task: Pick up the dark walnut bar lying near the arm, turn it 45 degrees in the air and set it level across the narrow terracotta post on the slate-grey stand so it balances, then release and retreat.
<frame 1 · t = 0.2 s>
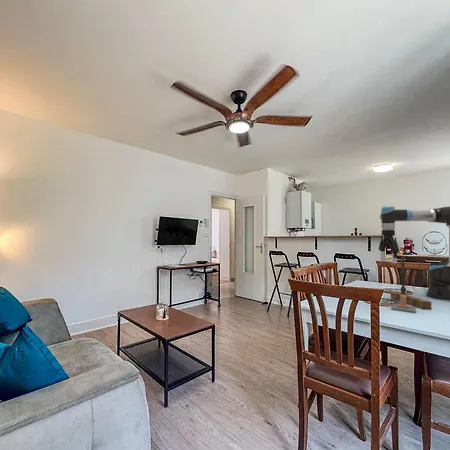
hand: (388, 262, 176), 27 cm above the table, fingers open, 13 cm apart
bar: (409, 304, 175), on the table
fulcrum: (403, 309, 163), on the table
candlestick holder: (403, 297, 193), on the table
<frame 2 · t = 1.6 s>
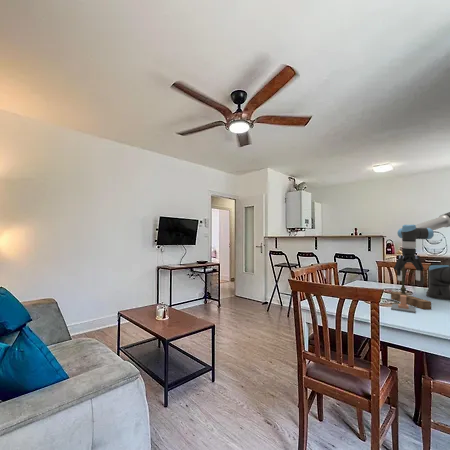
hand: (408, 280, 175), 15 cm above the table, fingers open, 13 cm apart
nothing on the table moved.
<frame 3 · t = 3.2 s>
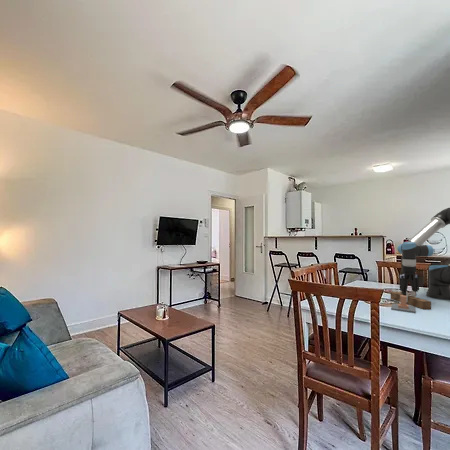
hand: (409, 301, 175), 2 cm above the table, fingers closed on bar, 5 cm apart
bar: (409, 304, 175), on the table, touching gripper
everything else where it was.
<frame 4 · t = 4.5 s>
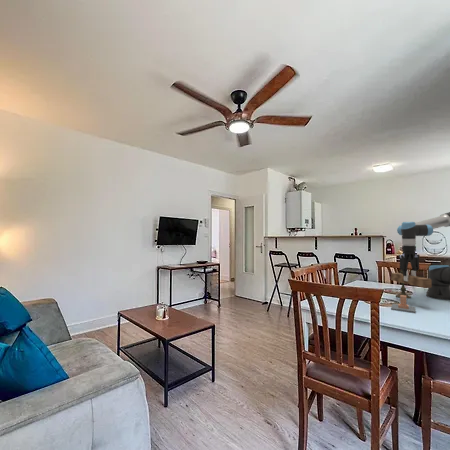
hand: (409, 280, 175), 15 cm above the table, fingers closed on bar, 5 cm apart
bar: (409, 283, 175), point 13 cm above the table, touching gripper
everything else where it was.
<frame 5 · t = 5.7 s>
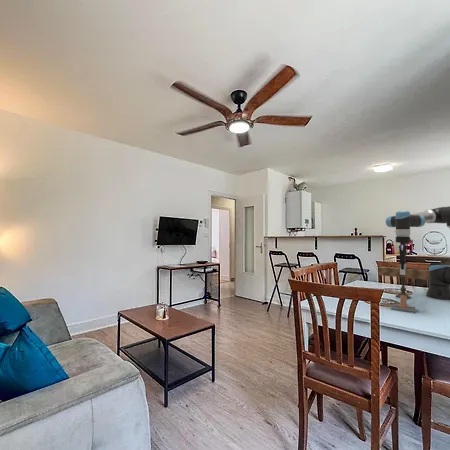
hand: (403, 274, 164), 21 cm above the table, fingers closed on bar, 5 cm apart
bar: (402, 276, 164), point 19 cm above the table, touching gripper
everything else where it was.
when the fingers open (11 cm above the table, at t = 8.0 s): bar stays where it is, resting on fulcrum.
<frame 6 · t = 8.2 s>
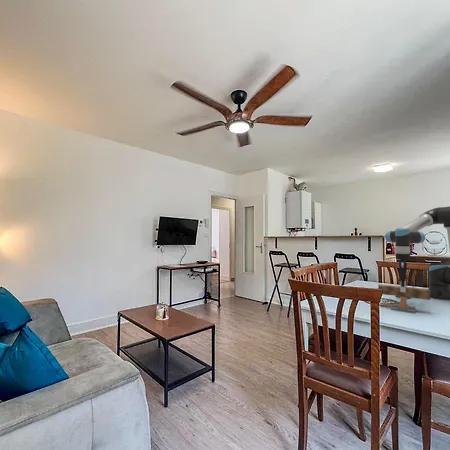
hand: (403, 290, 163), 11 cm above the table, fingers open, 7 cm apart
bar: (403, 295, 163), point 8 cm above the table, touching fulcrum
everything else where it was.
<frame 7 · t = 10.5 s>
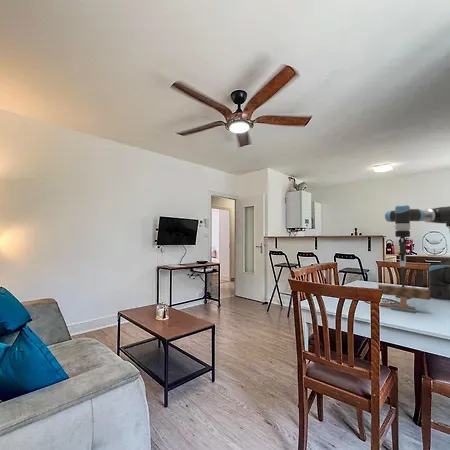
hand: (403, 265, 164), 27 cm above the table, fingers open, 13 cm apart
nothing on the table moved.
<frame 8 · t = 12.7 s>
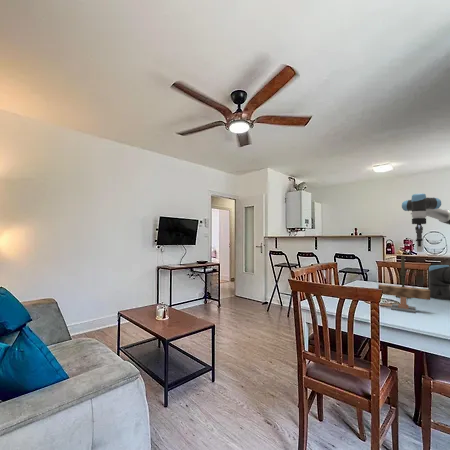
hand: (419, 251, 171), 35 cm above the table, fingers open, 13 cm apart
nothing on the table moved.
at the end: bar 0.0 cm off-centre on the fulcrum, point 8.0 cm above the fulcrum's base; bar tilted 0°; bar touching fulcrum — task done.
